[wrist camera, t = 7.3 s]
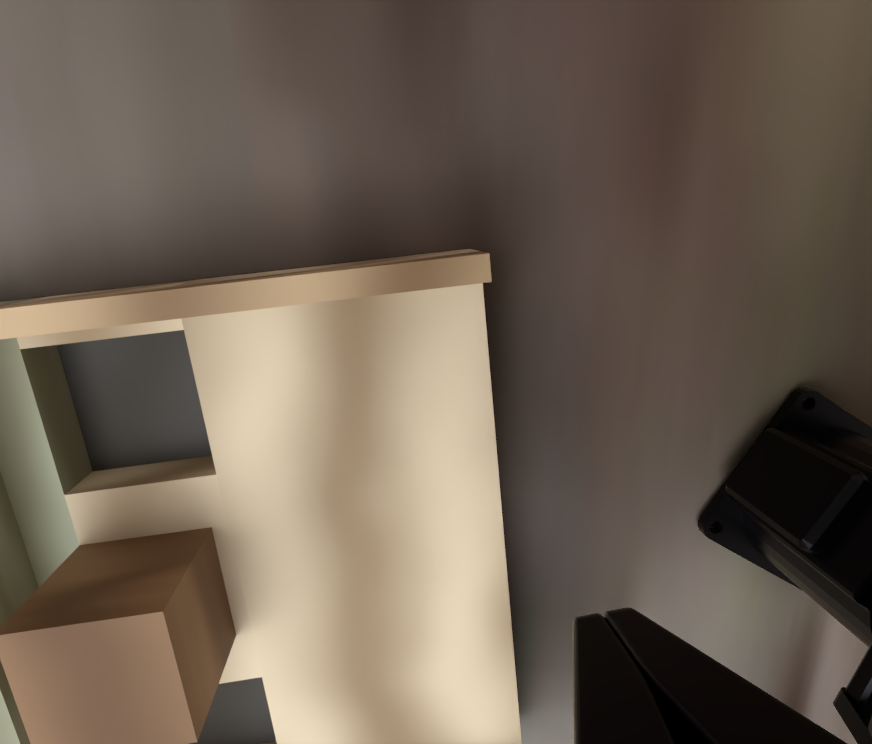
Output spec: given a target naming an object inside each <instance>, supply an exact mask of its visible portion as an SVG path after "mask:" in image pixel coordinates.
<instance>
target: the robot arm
mask: <svg viewBox="0 0 872 744" xmlns="http://www.w3.org/2000/svg"><path fill="white" fill-rule="evenodd" d="M806 398H807V403H806V404H805V405H804V406H803V407H802V403H803V401H804V400H805V399H806ZM716 521H717V523H716V525H715V526H714V527H712V528H710V526H711V524H712V523H714V522H716ZM698 527H699V530H700V531H701V532H702V533H703V534H704V535H705V536H707V537H708V538H709V539H711V540H713V541H714V542H716V543H718V544H720V545H722V546H723V547H725V548H727V549H729V550H731V551H732V552H734V553H736V554H738V555H740V556H741V557H743V558H745V559H747V560H749V561H751V562H752V563H754V564H756V565H758V566H760V567H761V568H763V569H765V570H767V571H769V572H770V573H772V574H774V575H776V576H778V577H779V578H781V579H783V580H785V581H787V582H788V583H790V584H792V585H794V586H796V587H797V588H799V589H801V590H803V591H804V592H805V593H806V594H808V595H809V596H810V597H811V598H812V599H813V600H815V601H816V602H817V603H818V604H819V605H820V606H821V607H823V608H824V609H825V610H826V611H827V612H828V613H830V614H831V615H832V616H833V617H834V618H835V619H837V620H838V621H839V622H840V623H841V624H842V625H844V626H845V627H846V628H847V629H848V630H849V631H851V632H852V633H853V634H854V635H855V636H856V637H857V638H859V639H860V640H861V641H862V642H863V643H864V644H866V645H867V646H868V647H869V649H868V651H867V652H866V654H865V656H864V658H863V659H862V661H861V663H860V665H859V666H858V668H857V670H856V672H855V673H854V675H853V677H852V679H851V680H850V682H849V684H848V686H847V688H845V687H842V688H841V690H840V691H839V693H838V695H837V697H836V699H835V700H834V702H833V704H834V706H835V708H836V709H837V711H838V713H839V714H840V716H841V717H842V719H843V721H844V722H845V724H846V725H847V727H848V729H849V730H850V732H851V733H852V735H853V737H854V738H855V740H856V742H857V743H858V744H872V428H871V427H870V426H868V425H867V424H865V423H864V422H862V421H861V420H859V419H858V418H856V417H855V416H853V415H851V414H850V413H848V412H847V411H845V410H844V409H842V408H841V407H839V406H838V405H836V404H835V403H833V402H832V401H830V400H829V399H827V398H826V397H824V396H823V395H821V394H820V393H818V392H816V391H813V390H810V389H808V388H805V387H804V388H798V389H796V390H794V391H793V392H792V393H791V394H790V396H789V397H788V398H787V400H786V401H785V402H784V404H783V405H782V406H781V408H780V409H779V411H778V412H777V413H776V415H775V416H774V417H773V419H772V420H771V421H770V423H769V424H768V425H767V427H766V428H765V430H764V431H763V432H762V434H761V435H760V436H759V438H758V439H757V440H756V442H755V443H754V444H753V446H752V447H751V449H750V450H749V451H748V453H747V454H746V455H745V457H744V458H743V459H742V461H741V462H740V463H739V465H738V466H737V467H736V469H735V470H734V472H733V473H732V474H731V476H730V477H729V478H728V480H727V481H726V482H725V484H724V485H723V486H722V488H721V489H720V491H719V492H718V493H717V495H716V496H715V497H714V499H713V500H712V501H711V503H710V504H709V505H708V507H707V508H706V510H705V511H704V512H703V514H702V515H701V516H700V518H699V520H698ZM572 635H573V707H574V744H847V743H845V742H844V741H842V740H841V739H839V738H838V737H836V736H834V735H833V734H831V733H830V732H828V731H826V730H825V729H823V728H822V727H820V726H819V725H817V724H815V723H814V722H812V721H811V720H809V719H807V718H806V717H804V716H803V715H801V714H799V713H798V712H796V711H795V710H793V709H792V708H790V707H788V706H787V705H785V704H784V703H782V702H780V701H779V700H777V699H776V698H774V697H773V696H771V695H769V694H768V693H766V692H765V691H763V690H761V689H760V688H758V687H757V686H755V685H753V684H752V683H750V682H749V681H747V680H746V679H744V678H742V677H741V676H739V675H738V674H736V673H734V672H733V671H731V670H730V669H728V668H727V667H725V666H723V665H722V664H720V663H719V662H717V661H715V660H714V659H712V658H711V657H709V656H707V655H706V654H704V653H703V652H701V651H700V650H698V649H696V648H695V647H693V646H692V645H690V644H688V643H687V642H685V641H684V640H682V639H681V638H679V637H677V636H676V635H674V634H673V633H671V632H669V631H668V630H666V629H665V628H663V627H661V626H660V625H658V624H657V623H655V622H654V621H652V620H650V619H649V618H647V617H646V616H644V615H642V614H641V613H639V612H638V611H636V610H634V609H632V608H622V609H616V610H611V611H606V612H605V613H604V614H603V615H600V614H598V613H595V614H590V615H585V616H580V617H576V618H574V619H573V622H572Z"/></svg>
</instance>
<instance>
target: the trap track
mask: <svg viewBox="0 0 872 744" xmlns="http://www.w3.org/2000/svg"><path fill="white" fill-rule="evenodd" d="M487 282H492V278H491V266H490V253H486V252H482V251H477V250H473V249H463V250H455V251H446V252H437V253H428V254H419V255H410V256H402V257H393V258H384V259H375V260H366V261H357V262H349V263H340V264H331V265H322V266H313V267H304V268H296V269H287V270H278V271H269V272H260V273H252V274H243V275H234V276H225V277H216V278H207V279H199V280H190V281H181V282H172V283H163V284H154V285H146V286H137V287H128V288H119V289H110V290H101V291H93V292H84V293H75V294H66V295H57V296H48V297H40V298H31V299H22V300H13V301H4V302H0V627H1V626H2V625H3V624H4V623H5V622H6V621H7V620H8V619H9V618H10V617H11V616H12V615H13V614H14V613H15V612H16V611H17V610H18V609H19V608H20V607H21V606H22V605H23V603H24V602H25V601H26V600H27V599H28V598H29V597H30V596H31V595H32V594H33V593H34V592H35V591H36V590H37V589H38V588H39V587H40V586H41V585H42V584H43V583H44V582H45V581H46V580H47V579H48V578H49V576H50V575H51V574H52V573H53V572H54V571H55V570H56V569H57V568H58V567H59V566H60V565H61V564H62V563H63V562H64V561H65V560H66V559H67V558H68V557H69V556H70V555H71V554H72V553H73V552H74V550H75V549H76V548H77V547H78V546H79V545H85V544H92V543H99V542H107V541H114V540H121V539H129V538H136V537H143V536H151V535H158V534H166V533H173V532H180V531H188V530H195V529H202V528H210V527H212V531H213V535H214V540H215V544H216V549H217V553H218V557H219V562H220V566H221V570H222V575H223V579H224V584H225V588H226V592H227V597H228V601H229V605H230V610H231V614H232V619H233V623H234V627H235V632H236V637H235V640H234V643H233V646H232V648H231V651H230V654H229V657H228V659H227V662H226V665H225V668H224V670H223V673H222V676H221V679H220V681H219V684H218V687H217V690H216V693H215V695H214V698H213V701H212V704H211V706H210V709H209V712H208V715H207V717H206V720H205V723H204V726H203V728H202V731H201V734H200V737H199V739H198V742H195V743H189V744H522V742H521V731H520V719H519V707H518V695H517V683H516V671H515V660H514V648H513V636H512V624H511V612H510V600H509V589H508V577H507V565H506V553H505V541H504V529H503V518H502V506H501V494H500V482H499V470H498V458H497V446H496V435H495V423H494V411H493V399H492V387H491V375H490V364H489V352H488V340H487V328H486V316H485V304H484V293H483V283H487ZM0 744H31V743H30V741H29V738H28V735H27V732H26V730H25V727H24V724H23V721H22V718H21V716H20V713H19V710H18V707H17V705H16V702H15V699H14V696H13V693H12V691H11V688H10V685H9V682H8V680H7V677H6V674H5V671H4V668H3V666H2V663H1V660H0Z"/></svg>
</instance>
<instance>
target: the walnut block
mask: <svg viewBox="0 0 872 744" xmlns="http://www.w3.org/2000/svg"><path fill="white" fill-rule="evenodd" d="M235 637H236V632H235V627H234V623H233V619H232V614H231V610H230V605H229V601H228V597H227V592H226V588H225V584H224V579H223V575H222V570H221V566H220V562H219V557H218V553H217V549H216V544H215V540H214V535H213V531H212V527H210V528H202V529H195V530H188V531H180V532H173V533H166V534H158V535H151V536H143V537H136V538H129V539H121V540H114V541H107V542H99V543H92V544H85V545H79V546H78V547H77V548H76V549H75V550H74V552H73V553H72V554H71V555H70V556H69V557H68V558H67V559H66V560H65V561H64V562H63V563H62V564H61V565H60V566H59V567H58V568H57V569H56V570H55V571H54V572H53V573H52V574H51V575H50V576H49V578H48V579H47V580H46V581H45V582H44V583H43V584H42V585H41V586H40V587H39V588H38V589H37V590H36V591H35V592H34V593H33V594H32V595H31V596H30V597H29V598H28V599H27V600H26V601H25V602H24V603H23V605H22V606H21V607H20V608H19V609H18V610H17V611H16V612H15V613H14V614H13V615H12V616H11V617H10V618H9V619H8V620H7V621H6V622H5V623H4V624H3V625H2V626H1V627H0V660H1V663H2V666H3V668H4V671H5V674H6V677H7V680H8V682H9V685H10V688H11V691H12V693H13V696H14V699H15V702H16V705H17V707H18V710H19V713H20V716H21V718H22V721H23V724H24V727H25V730H26V732H27V735H28V738H29V741H30V743H31V744H189V743H195V742H198V739H199V737H200V734H201V731H202V728H203V726H204V723H205V720H206V717H207V715H208V712H209V709H210V706H211V704H212V701H213V698H214V695H215V693H216V690H217V687H218V684H219V681H220V679H221V676H222V673H223V670H224V668H225V665H226V662H227V659H228V657H229V654H230V651H231V648H232V646H233V643H234V640H235Z"/></svg>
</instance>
